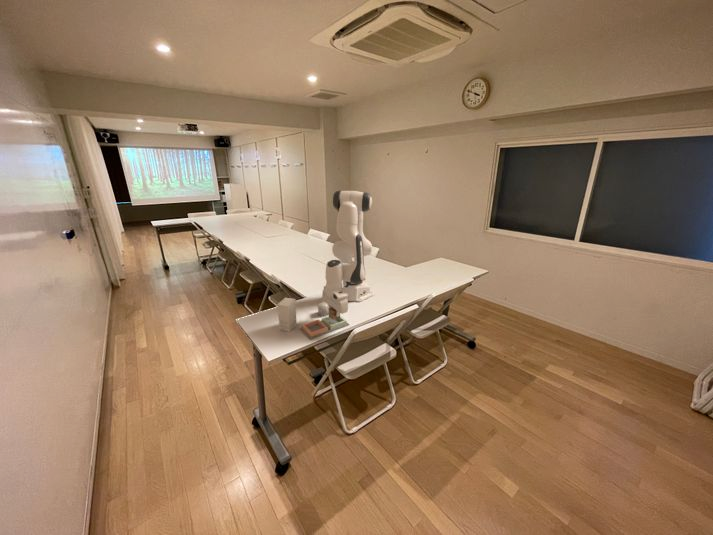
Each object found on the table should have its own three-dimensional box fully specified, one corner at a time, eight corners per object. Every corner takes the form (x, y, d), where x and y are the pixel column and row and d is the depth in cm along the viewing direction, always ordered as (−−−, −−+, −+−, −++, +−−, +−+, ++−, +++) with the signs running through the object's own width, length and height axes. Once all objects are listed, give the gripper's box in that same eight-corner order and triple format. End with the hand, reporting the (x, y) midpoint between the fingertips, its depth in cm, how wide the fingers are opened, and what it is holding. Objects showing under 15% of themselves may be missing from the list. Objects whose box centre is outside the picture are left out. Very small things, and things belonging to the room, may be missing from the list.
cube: (335, 314, 153) (335, 305, 151) (340, 317, 149) (340, 309, 148) (328, 316, 150) (328, 308, 148) (333, 319, 147) (332, 311, 145)
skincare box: (287, 322, 152) (285, 296, 147) (297, 324, 150) (296, 298, 145) (278, 330, 144) (276, 303, 139) (290, 332, 143) (288, 305, 137)
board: (337, 316, 159) (337, 312, 159) (349, 325, 150) (349, 320, 150) (299, 328, 146) (299, 324, 145) (310, 339, 137) (309, 335, 136)
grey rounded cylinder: (325, 310, 166) (325, 301, 164) (331, 314, 161) (331, 305, 159) (316, 313, 162) (316, 303, 160) (321, 317, 158) (321, 308, 156)
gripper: (319, 285, 150) (319, 308, 155) (340, 298, 135) (340, 323, 140) (328, 283, 154) (329, 305, 159) (350, 295, 139) (350, 319, 143)
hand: (334, 314), depth 149 cm, fingers closed on cube, 4 cm apart
